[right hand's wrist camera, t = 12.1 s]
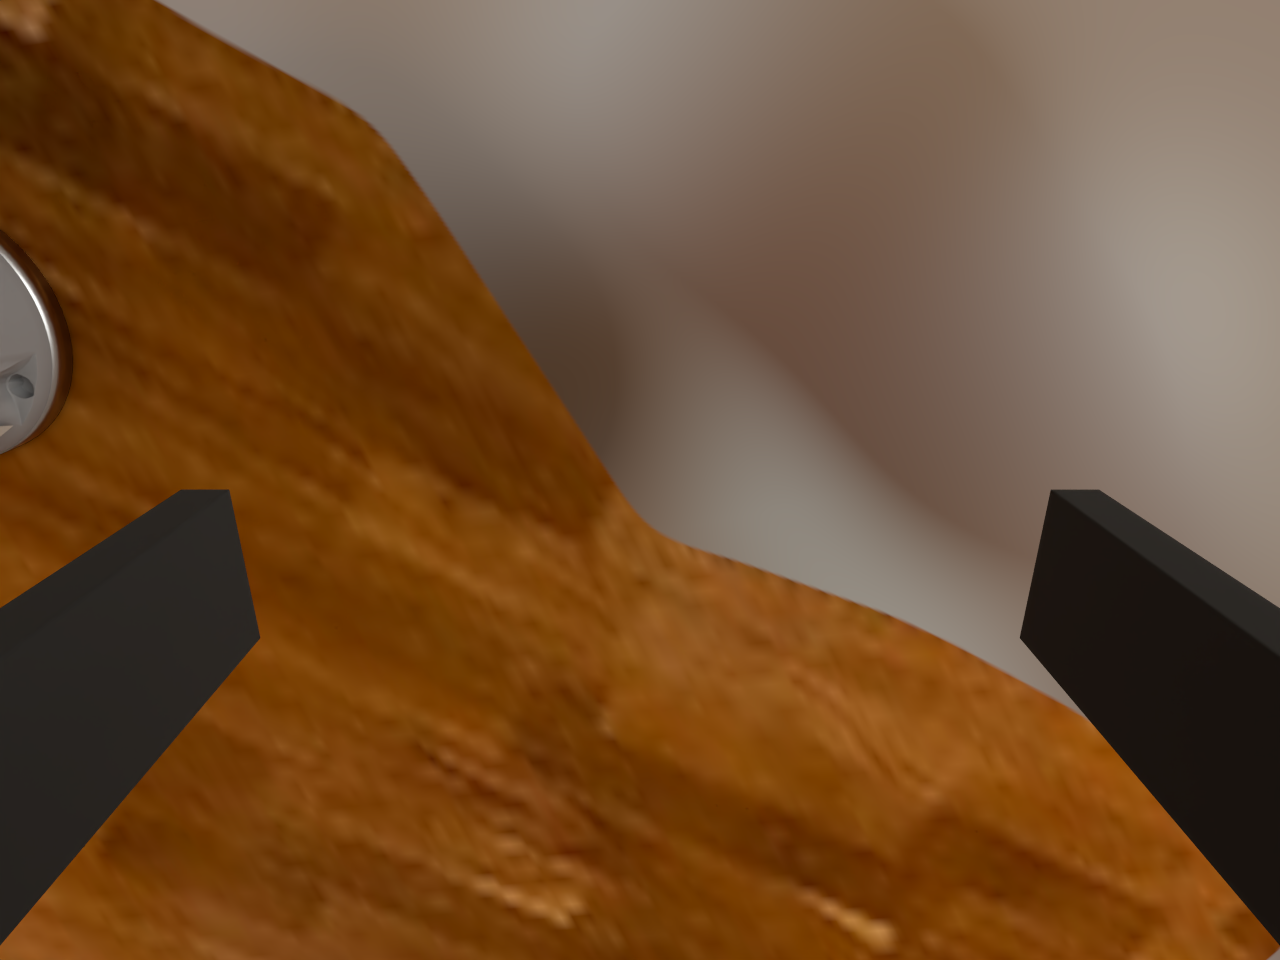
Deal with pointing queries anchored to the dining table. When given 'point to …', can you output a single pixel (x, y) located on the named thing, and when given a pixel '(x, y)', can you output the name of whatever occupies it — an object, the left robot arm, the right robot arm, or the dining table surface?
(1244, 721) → the right robot arm
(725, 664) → the dining table surface
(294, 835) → the dining table surface
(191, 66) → the dining table surface
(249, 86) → the dining table surface
